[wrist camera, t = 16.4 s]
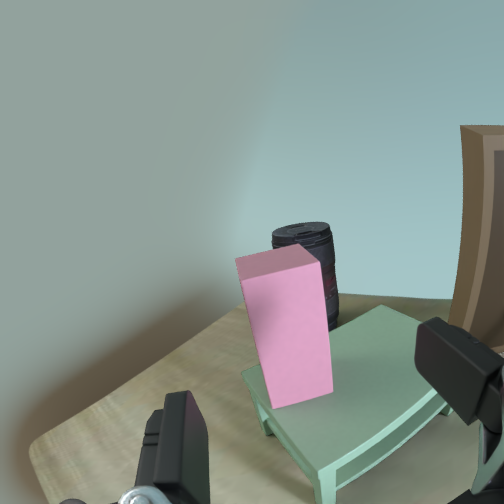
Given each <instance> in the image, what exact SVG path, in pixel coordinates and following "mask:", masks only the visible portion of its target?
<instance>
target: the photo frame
mask: <svg viewBox="0 0 504 504" xmlns="http://www.w3.org/2000/svg"><path fill="white" fill-rule="evenodd" d="M460 130H461V142H462V158H463V214H462V215H463V216H462V231H461V243H460V253H459V261H458V270H457V276H456V283H455V289H454V294H453V300H452V305H451V310H450V315H449V319H448V324H449V325H450V324H451V325H454V326H457V327H460V328H463V329H464V330H466V331H467V332H469V333H470V334H471V335H472V337H476V338H477V339H478V340H480V342H482V343H484V344H485V345H486V346H488V347H489V348H491V349H492V350H493V351H495V352H496V353H501V352H504V126H500V125H460Z"/></svg>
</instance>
